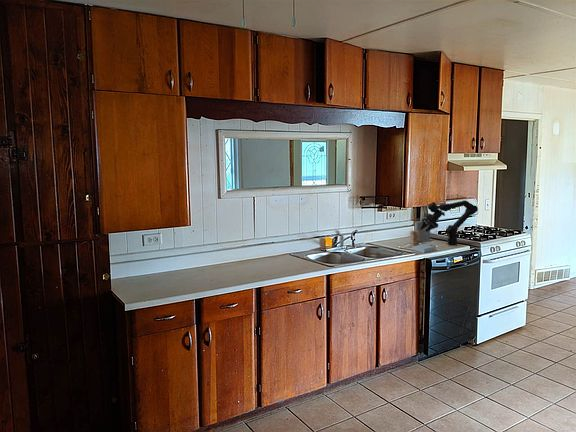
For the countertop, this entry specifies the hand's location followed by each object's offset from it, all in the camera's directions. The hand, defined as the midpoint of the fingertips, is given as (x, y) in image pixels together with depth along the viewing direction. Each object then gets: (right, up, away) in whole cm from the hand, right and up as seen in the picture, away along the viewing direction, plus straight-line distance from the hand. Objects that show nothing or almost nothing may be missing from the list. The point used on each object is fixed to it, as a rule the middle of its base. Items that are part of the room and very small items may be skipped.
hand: (423, 230), depth 378 cm
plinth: (-3, -15, -12) cm, 19 cm away
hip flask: (+6, -10, +22) cm, 25 cm away
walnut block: (-7, -14, +1) cm, 15 cm away
